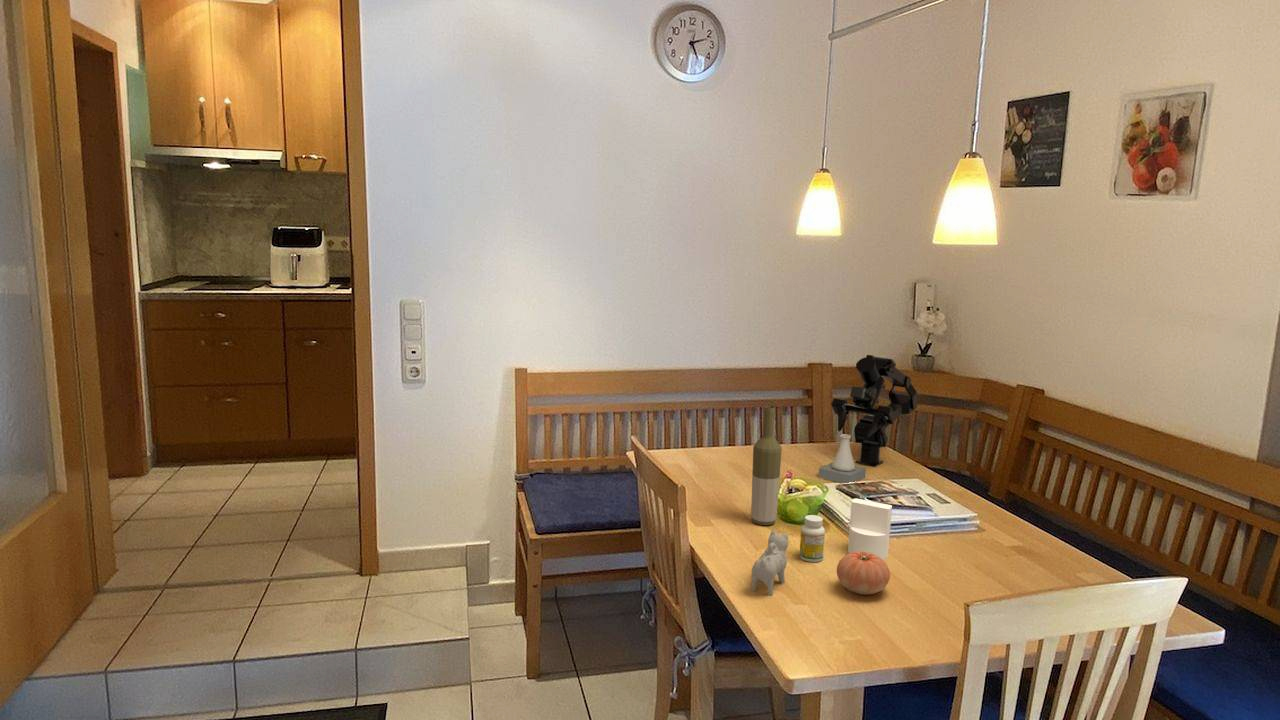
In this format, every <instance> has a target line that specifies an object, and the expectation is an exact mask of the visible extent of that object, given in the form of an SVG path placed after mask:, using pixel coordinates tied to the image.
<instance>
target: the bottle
mask: <svg viewBox="0 0 1280 720" xmlns="http://www.w3.org/2000/svg"><path fill="white" fill-rule="evenodd" d="M775 415H776V406H774V405H765V406H764V407H763V428H762V429H763V430H762V437H760V438H759V439H758V440H757V441H756V443H755V444H754V445H753V448H752V473H751V474H752V475H751V476H752V477H751V479H752V480H751V503H750V504H751V510H750V511H751V512H750V513H751V514H750V517H751V521H752V522H753V523H755V524H757V525H760V526H771V525H774V524H775V523H776V521H777V513H778V501H779V488H780V476H781V464H782V463H781V462H782V445H781V444H780V443H779V442H778V441H777V439H776V438H775V436H774V434H775V433H774V432H775Z"/></svg>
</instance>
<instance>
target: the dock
mask: <svg viewBox="0 0 1280 720" xmlns="http://www.w3.org/2000/svg"><path fill="white" fill-rule="evenodd" d="M832 463H833V461H832V462H830V463H827V464H825V465H823V466H821V467H819V468H818V477H820V478H819V479H821V478H824V479H823V480H825V479H827V481H829V480H831V481H830V482H833V481H835V482H834V483H837V482H840V483H839V484H841V483H849V482H855V481H858V482H860V481H861V480H864V479H866V472H867V468H866V467H863V466H859V465H855V470H852V471H841V470H837V469H834V468H831V466H832Z"/></svg>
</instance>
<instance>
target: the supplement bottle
mask: <svg viewBox="0 0 1280 720" xmlns="http://www.w3.org/2000/svg"><path fill="white" fill-rule="evenodd" d="M823 522H824V518H823V517H822V516H819V515H816V514H809V515H808V514H807V515H806V516H804V524H803V525H802V526H801V529H800V540H799V541H800V542H799V543H800V544H799V557H800V559H801V560H803V561H805V562H809V563H819V562H822V561H823V559H824V554H825V553H824V551H825V539H826V530H825V528H824V526H823V524H824V523H823Z"/></svg>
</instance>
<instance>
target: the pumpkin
mask: <svg viewBox="0 0 1280 720" xmlns="http://www.w3.org/2000/svg"><path fill="white" fill-rule="evenodd" d="M836 576H837V579H838V581H839V582H840V584H842V586H843V587H844V588H846V589H847V590H849V591H850V592H853V593H856V594H859V595H874V594H877V593H879V592H881V591H883V590H884V589H885V588H886V587H887V585H888V584H889V582H890V578H891V573H890V569H889V566H888V564H887V563H886V561H885V559H883V560H882V559H881V558H880V557H878V556H876V555H874V554H871V553H867V552H852V553H849V552H848V553H846V554H845V555H843V557H842V558H841V559H840V560H839V561H838V563H837V565H836Z"/></svg>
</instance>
